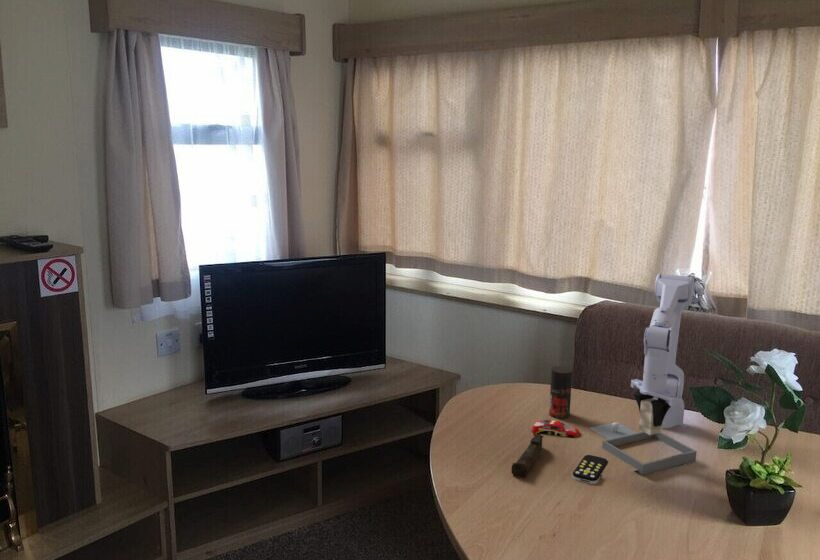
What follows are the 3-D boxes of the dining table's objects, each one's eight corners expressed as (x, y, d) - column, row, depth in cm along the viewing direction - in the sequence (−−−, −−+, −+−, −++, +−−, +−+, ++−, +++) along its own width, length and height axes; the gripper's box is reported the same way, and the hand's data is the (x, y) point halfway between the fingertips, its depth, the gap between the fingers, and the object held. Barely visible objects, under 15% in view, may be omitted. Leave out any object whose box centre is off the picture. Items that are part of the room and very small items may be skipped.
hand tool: (526, 480, 179) (527, 463, 178) (510, 476, 181) (511, 459, 180) (550, 450, 195) (551, 434, 194) (535, 446, 197) (536, 430, 196)
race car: (580, 435, 205) (581, 421, 204) (579, 443, 200) (580, 429, 199) (533, 428, 208) (534, 415, 208) (530, 436, 203) (531, 423, 202)
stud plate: (616, 424, 211) (617, 412, 210) (641, 438, 202) (642, 426, 201) (588, 431, 206) (589, 418, 206) (612, 445, 198) (613, 432, 197)
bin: (653, 438, 202) (654, 428, 201) (695, 461, 189) (696, 451, 188) (601, 451, 194) (602, 440, 194) (642, 476, 181) (642, 464, 180)
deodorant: (544, 415, 217) (547, 367, 213) (561, 412, 219) (564, 365, 216) (556, 423, 211) (559, 374, 208) (573, 420, 214) (576, 371, 210)
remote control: (608, 465, 188) (609, 458, 187) (595, 486, 177) (596, 479, 176) (585, 459, 190) (585, 452, 190) (570, 480, 180) (571, 473, 179)
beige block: (638, 429, 191) (640, 400, 189) (650, 426, 192) (652, 397, 191) (649, 435, 187) (652, 405, 185) (661, 432, 189) (664, 403, 187)
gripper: (623, 365, 191) (619, 414, 194) (664, 384, 178) (659, 435, 181) (644, 362, 194) (640, 410, 197) (686, 379, 181) (681, 430, 184)
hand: (651, 422), depth 189 cm, fingers closed on beige block, 4 cm apart
